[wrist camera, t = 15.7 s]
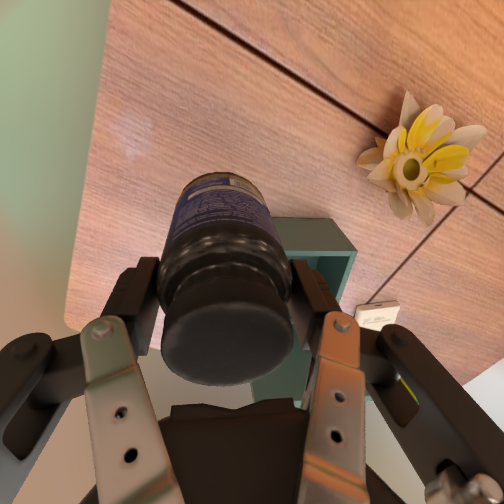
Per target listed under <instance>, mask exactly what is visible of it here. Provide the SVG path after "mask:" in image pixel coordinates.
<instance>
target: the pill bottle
mask: <svg viewBox="0 0 504 504" xmlns="http://www.w3.org/2000/svg"><path fill="white" fill-rule="evenodd" d="M292 281H293V278H292V271H291V267H290V264H289V260H288V258H287V256H286V254H285V252H284V249H283V246H282V244H281V241H280V238H279V236H278V233H277V231H276V228H275V226H274V223H273V221H272V218H271V215H270V212H269V210H268V208H267V206H266V203H265V201H264V199H263V196H262V194H261V193H260V192H259V190H258V189H257V188H256V187H255V186H254V185H253V184H252V183H251V182H250V181H248V180H247V179H245V178H243V177H241V176H238V175H236V174H234V173H230V172H213V173H207V174H204V175H201V176H199V177H197V178H196V179H194V180H192V181H191V182H190V183H189V184H188V185H186V187H185V188H184V189H183V192H182V194H181V195H180V197H179V199H178V202H177V204H176V206H175V211H174V214H173V218H172V221H171V225H170V229H169V232H168V236H167V239H166V243H165V247H164V250H163V253H162V257H161V261H160V264H159V267H158V271H157V276H156V283H155V287H156V289H155V290H156V294H157V298H158V301H159V304H160V306H161V308H162V310H163V311H164V313H165V319H164V327H163V334H162V338H161V355H162V357H163V360H164V361H165V363H166V365H167V366H168V368H169V369H170V370H171V371H172V372H173V373H176V374H177V375H178V376H180V377H182V378H183V379H185V380H187V381H190V382H194V383H197V384H202V385H208V386H223V387H224V386H234V385H239V384H244V383H249V382H251V381H254V380H257V379H259V378H262V377H264V376H266V375H268V374H270V373H271V372H273V371H274V370H276V369H277V368H278V367H279V366H281V365H282V364H283V363H284V361H285V360H286V359H287V358H288V356H289V354H290V352H291V351H292V348H293V344H294V332H293V327H292V323H291V321H290V317H289V313H288V309H287V307H286V306H287V304H288V301H289V298H290V296H291V292H292V284H293V282H292Z"/></svg>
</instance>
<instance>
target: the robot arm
mask: <svg viewBox="0 0 504 504" xmlns="http://www.w3.org/2000/svg"><path fill="white" fill-rule="evenodd" d="M159 264H160V260H159V257H141V258H140V260H139V262H138V265H137V267H136V268H127V269H126V270H125V271H124V272H123V273H122V274H120V276H119V278H118V280H117V282H116V285H115V286H114V288H113V292H112V293H111V295H110V297H109V299H108V301H107V303H106V305H105V307H104V309H103V311H102V313H101V315H100V317H99V318H96V319H94V320H93V321H91V322H89V323H88V324H87V325H86V326H85V327H84V328H83V330H82V331H81V333H79V334H77V335H73V336H70V337H66V338H62V339H58V340H54V341H52V339H51V337H50V336H49V335H47V334H45V333H31V334H26V335H23V336H21V337H19V338H16V339H15V340H13V341H11V342H10V343H8V344H7V345H6V346H5V347H4V348H3V349H2V350H1V351H0V504H12V502H13V500H14V498H15V497H16V495H17V493H18V492H19V490H20V488H21V486H22V485H23V483H24V481H25V479H26V477H27V476H28V474H29V472H30V471H31V469H32V467H33V466H34V464H35V462H36V460H37V459H38V457H39V455H40V453H41V452H42V450H43V448H44V447H45V445H46V443H47V441H48V439H49V438H50V436H51V434H52V433H53V431H54V429H55V427H56V426H57V424H58V422H59V420H60V419H61V417H62V415H63V414H64V412H65V410H66V408H67V407H68V405H69V403H70V401H71V400H72V399H73V398H76V397H78V396H81V395H84V394H85V400H86V408H87V416H88V424H89V431H90V439H91V446H92V453H93V461H94V469H95V476H96V484H95V485H94V487H93V488H92V489H91V490H90V491H89V493H88V494H87V495H86V496H85V497H84V498H83V500H82V501H81V502H80V503H79V504H406V503H405V502H404V501H403V500H402V499H401V498H400V497H399V496H398V495H397V494H396V493H395V492H394V491H393V490H392V489H391V488H390V487H389V486H388V485H387V484H386V483H385V482H384V481H383V480H382V479H381V478H380V477H379V476H378V475H377V474H376V473H375V472H374V471H373V470H372V469H371V468H370V467H369V466H368V465H367V464H366V457H365V388H366V390H367V391H368V393H369V395H370V396H371V398H372V400H373V401H374V403H375V405H376V406H377V408H378V410H379V411H380V413H381V414H382V416H383V417H384V419H385V421H386V423H387V424H388V426H389V428H390V429H391V431H392V432H393V434H394V436H395V438H396V439H397V441H398V442H399V444H400V446H401V448H402V449H403V451H404V453H405V454H406V456H407V457H408V459H409V461H410V462H411V464H412V466H413V467H414V469H415V470H416V472H417V474H418V476H419V477H420V479H421V481H422V482H423V484H424V486H425V501H426V504H504V432H503V431H502V430H501V429H500V428H499V427H498V426H497V425H496V424H495V423H494V421H493V420H492V419H491V418H490V417H489V416H488V415H487V414H486V413H485V412H484V411H483V409H482V408H481V407H480V406H479V405H478V404H477V403H476V402H475V401H474V400H473V398H472V397H471V396H470V395H469V394H468V393H467V392H466V391H465V390H464V389H463V387H462V386H461V385H460V384H459V383H458V382H457V381H456V380H455V379H454V378H453V377H452V375H451V374H450V373H449V372H448V371H447V370H446V369H445V368H444V367H443V366H442V364H441V363H440V362H439V361H438V360H437V359H436V358H435V357H434V356H433V355H432V354H431V352H430V351H429V350H428V349H427V348H426V347H425V346H424V345H423V344H422V343H421V342H420V340H419V339H418V338H417V337H416V336H415V335H414V334H413V333H412V332H411V331H409V330H408V329H406V328H404V327H402V326H400V325H396V324H386V325H384V326H383V327H382V329H381V331H376V330H372V329H368V328H364V327H361V326H359V324H358V322H357V321H356V320H355V319H354V318H353V317H352V316H350V315H348V314H346V313H344V312H342V310H341V308H340V306H339V304H338V303H337V301H336V299H335V297H334V295H333V293H332V291H330V288H329V286H328V284H327V282H326V280H325V278H324V276H323V275H322V274H321V273H320V272H318V271H317V270H316V269H310V267H309V265H308V263H307V261H306V259H290V260H289V264H290V267H291V271H292V278H293V281H292V282H293V284H292V292H291V296H290V298H289V301H288V307H289V311H290V314H291V317H292V320H293V323H294V327H295V330H296V333H297V336H298V339H299V343H300V346H301V349H302V350H309V349H310V350H311V353H312V356H311V359H310V363H309V368H308V373H307V378H306V383H305V388H304V393H303V398H302V402H301V405H300V408H298V407H295V405H294V401H293V397H290V398H275V399H264V400H261V401H258V402H255V403H253V404H250V405H247V406H244V407H241V408H239V409H228V408H223V407H218V406H213V405H208V404H203V403H202V404H187V405H173V406H171V413H170V416H168V417H165V418H163V419H161V420H159V421H157V419H156V415H155V412H154V409H153V406H152V403H151V400H150V397H149V394H148V391H147V388H146V385H145V382H144V378H143V375H142V372H141V369H140V366H139V364H138V363H137V359H138V356H146V355H147V353H148V349H149V345H150V341H151V337H152V333H153V329H154V325H155V321H156V317H157V313H158V309H159V305H160V304H159V301H158V298H157V294H156V290H155V289H156V287H155V283H156V276H157V271H158V267H159ZM400 377H401V378H402V379H403V380H404V382H405V383H406V384H407V386H408V387H409V388H410V390H411V391H412V392H413V394H414V395H415V397H416V398H417V400H418V403H419V404H418V403H417V402H416V400H415V399H414V398H413V396H412V395H411V393H410V392H409V391H408V389H407V388H406V387H405V385H404V384H403V383H402V381H401V380H400Z"/></svg>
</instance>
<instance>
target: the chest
mask: <svg viewBox="0 0 504 504" xmlns="http://www.w3.org/2000/svg"><path fill="white" fill-rule="evenodd" d="M271 218H272V221H273V223H274V226H275V228H276V231H277V233H278V236H279V238H280V241H281V244H282V246H283V249H284V252H285V254H286V256H287V258H288V260H290V259H306V261H307V263H308V265H309V267H310V269H316V270H317V271H318V272H320V273H321V274H322V275H323V276H324V278H325V280H326V282H327V284H328V286H329V288H330V291H332V293H333V295H334V297H335V299H336V301H337V303H338V304H339V302H340V299H341V296H342V293H343V291H344V288H345V285H346V283H347V280H348V277H349V274H350V272H351V269H352V266H353V263H354V261H355V258H356V255H357V252H358V251H357V249H356V248H355V247H354V246H353V244H352V243H351V242H350V241H349V239H348V238H347V237H346V236H345V234H344V233H343V232H342V231H341V229H340V228H339V227H338V226H337V224H336V223H335V222H334V221H333V219H318V218H280V217H271ZM286 307H287V309H288V313H289V317H290V321H291V323H293V320H292V317H291V314H290V311H289V307H288V304H287V306H286Z"/></svg>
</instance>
